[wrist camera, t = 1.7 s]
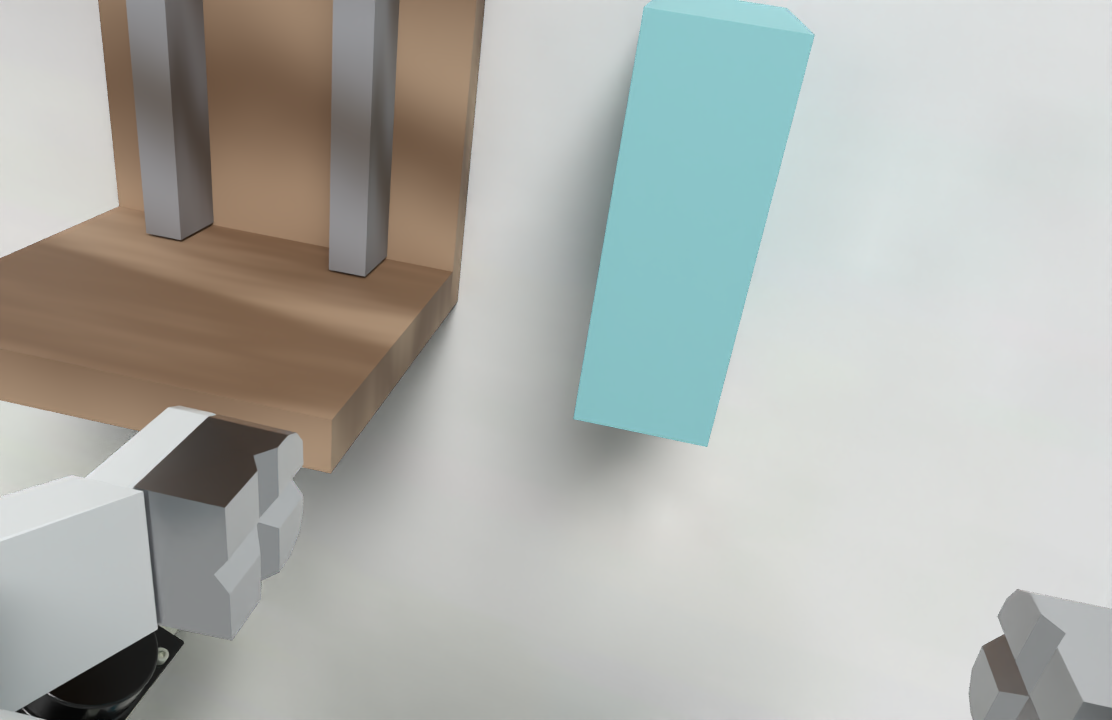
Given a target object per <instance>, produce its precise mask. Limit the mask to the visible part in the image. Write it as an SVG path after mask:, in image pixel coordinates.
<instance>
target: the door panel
mask: <svg viewBox="0 0 1112 720" xmlns="http://www.w3.org/2000/svg"><path fill="white" fill-rule="evenodd" d="M813 39H814V34H813V33H812V32H811V31H810V30H809V29H808V28H807V27H806V26H805V25H804V24H803V23H802V22H801V21H800V20H799V19H798V18H796V17H795V16H794V15H793V14H792V13H791V12H790V11H789V10H788V9H787V8H783V7H777V6H770V5H764V4H758V3H752V2H745V1H739V0H652V1H650V2H649V3H648V4H647V5H646V6H645V7H644V10H643V15H642V21H641V27H640V33H639V39H638V45H637V50H636V56H635V62H634V68H633V74H632V80H631V85H630V91H629V97H628V103H627V109H626V115H625V120H624V126H623V132H622V138H621V144H620V150H619V155H618V161H617V167H616V173H615V179H614V185H613V190H612V196H611V202H610V208H609V214H608V220H607V225H606V231H605V237H604V243H603V249H602V255H601V260H600V266H599V272H598V278H597V284H596V290H595V295H594V301H593V307H592V313H591V319H590V324H589V330H588V336H587V342H586V348H585V354H584V359H583V365H582V371H581V377H580V383H579V389H578V394H577V400H576V406H575V412H574V418H573V419H576V420H580V421H585V422H590V423H595V424H600V425H604V426H609V427H614V428H619V429H624V430H628V431H633V432H638V433H643V434H648V435H652V436H657V437H662V438H667V439H672V440H676V441H681V442H686V443H691V444H696V445H700V446H705V447H707V446H708V442H709V438H710V434H711V430H712V426H713V423H714V419H715V415H716V411H717V407H718V403H719V400H720V396H721V392H722V388H723V384H724V380H725V377H726V373H727V369H728V365H729V361H730V357H731V354H732V350H733V346H734V342H735V338H736V334H737V331H738V327H739V323H740V319H741V315H742V311H743V308H744V304H745V300H746V296H747V292H748V288H749V285H750V281H751V277H752V273H753V269H754V265H755V262H756V258H757V254H758V250H759V246H760V242H761V239H762V235H763V231H764V227H765V223H766V219H767V215H768V212H769V208H770V204H771V200H772V196H773V192H774V189H775V185H776V181H777V177H778V173H779V169H780V166H781V162H782V158H783V154H784V150H785V146H786V143H787V139H788V135H789V131H790V127H791V123H792V120H793V116H794V112H795V108H796V104H797V100H798V97H799V93H800V89H801V85H802V81H803V77H804V74H805V70H806V66H807V62H808V58H809V54H810V51H811V47H812V43H813Z"/></svg>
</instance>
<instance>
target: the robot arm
mask: <svg viewBox="0 0 1112 720" xmlns="http://www.w3.org/2000/svg"><path fill="white" fill-rule="evenodd" d="M302 466H303V440H302V439H301V438H300V437H299V435H298V434H297V433H296V432H291V431H287V430H283V429H279V428H275V427H270V426H266V425H262V424H258V423H254V422H249V421H245V420H241V419H237V418H233V417H229V416H224V415H220V414H218V415H216V414H214V413H211V412H207V411H202V410H197V409H193V408H188V407H183V406H174V407H168V408H167V409H165V410H164V411H163V412H162V413H161V414H159V415H158V416H157V417H156V418H155V419H154V420H152V421H151V422H150V423H149V424H148V425H146V426H145V427H144V428H143V429H142V430H141V431H139V432H138V433H137V434H136V435H135V436H133V437H132V438H131V439H130V440H129V441H127V442H126V443H125V444H124V445H123V446H122V447H120V448H119V449H118V450H117V451H116V452H114V453H113V454H112V455H111V456H110V457H109V458H107V459H106V460H105V461H104V462H103V463H101V464H100V465H99V466H98V467H97V468H96V469H94V470H93V471H92V472H91V473H90V474H88V475H87V476H86V477H85V478H83V477H78V476H73V475H70V476H67V477H63V478H60V479H57V480H53V481H50V482H47V483H43V484H40V485H37V486H33V487H30V488H27V489H23V490H20V491H17V492H13V493H10V494H7V495H3V496H0V720H45V719H41V718H37V717H33V716H29V715H25V714H21V713H17V712H15V711H17V710H19V709H21V708H22V707H24V706H26V705H28V704H29V703H31V702H33V701H34V700H36V699H38V698H40V697H41V696H43V695H45V694H47V693H48V692H50V691H52V690H53V689H55V688H57V687H59V686H60V685H62V684H64V683H66V682H67V681H69V680H71V679H72V678H74V677H76V676H78V675H79V674H81V673H83V672H85V671H86V670H88V669H90V668H92V667H93V666H95V665H97V664H98V663H100V662H102V661H104V660H105V659H107V658H109V657H111V656H112V655H114V654H116V653H117V652H119V651H121V650H123V649H124V648H126V647H128V646H130V645H131V644H133V643H135V642H136V641H138V640H140V639H142V638H143V637H145V636H147V635H149V634H150V633H152V632H154V631H156V630H157V629H158V625H160V626H165V627H170V628H175V629H179V630H184V631H189V632H194V633H199V634H203V635H208V636H213V637H218V638H223V639H227V640H233V638H234V637H235V636H236V634H237V633H238V631H239V630H240V628H241V627H242V626H243V624H244V623H245V621H246V620H247V618H248V617H249V615H250V614H251V613H252V611H253V610H254V608H255V607H256V605H257V604H258V603H259V601H260V600H261V580H263V579H266V578H268V577H270V576H272V575H274V574H276V573H279V572H280V571H281V569H282V568H283V566H284V565H285V563H286V562H287V560H288V559H289V557H290V555H291V553H292V551H293V548H294V546H295V543H296V541H297V538H298V535H299V533H300V528H301V523H302V517H303V496H304V495H303V494H302V492H301V491H300V489H299V488H298V486H297V485H296V484H295V482H294V481H293V477H294V476H295V475H296V473H297V472H298V471H299V470H300V468H301V467H302ZM998 619H999V622H1000V624H1001V627H1002V629H1003V632H1004V635H1002V636H1000V637H998V638H996V639H994V640H993V641H991V642H989V643H987V644H985V645H983V646H982V648H981V650H980V652H979V654H978V657H977V659H976V661H975V663H974V665H973V668H972V672H971V680H970V687H969V702H970V711H971V716H972V719H973V720H1112V609H1111V608H1106V607H1101V606H1096V605H1092V604H1087V603H1082V602H1077V601H1072V600H1067V599H1063V598H1058V597H1053V596H1048V595H1043V594H1038V593H1034V592H1029V591H1024V590H1019V589H1017V590H1016V591H1015V592H1014V593H1012V594H1011V595H1010V596H1009V597H1008V598H1007V599H1006V601H1005V603H1004V605H1003V607H1002V608H1001V610H1000V612H999V614H998Z"/></svg>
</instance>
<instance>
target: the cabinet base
mask: <svg viewBox="0 0 1112 720" xmlns="http://www.w3.org/2000/svg"><path fill="white" fill-rule="evenodd" d="M98 2H99V12H100V22H101V32H102V42H103V52H104V62H105V71H106V81H107V91H108V101H109V111H110V121H111V130H112V140H113V150H114V160H115V170H116V180H117V190H118V199H119V207H117V208H114V209H112V210H110V211H107V212H105V213H103V214H101V215H98V216H96V217H94V218H91V219H89V220H87V221H85V222H82V223H80V224H78V225H75V226H73V227H71V228H68V229H66V230H64V231H62V232H59V233H57V234H55V235H52V236H50V237H48V238H46V239H43V240H41V241H39V242H36V243H34V244H32V245H30V246H27V247H25V248H23V249H20V250H18V251H16V252H14V253H11V254H9V255H7V256H4V257H2V258H0V400H2V401H7V402H11V403H16V404H20V405H25V406H29V407H34V408H38V409H43V410H47V411H52V412H56V413H61V414H65V415H70V416H74V417H79V418H83V419H88V420H92V421H97V422H101V423H106V424H110V425H115V426H119V427H124V428H128V429H133V430H137V431H141V430H142V429H143V428H144V427H145V426H146V425H148V424H149V423H150V422H151V421H152V420H154V419H155V418H156V417H157V416H158V415H159V414H161V413H162V412H163V411H164V410H165V409H167V408H168V407H174V406H183V407H188V408H193V409H197V410H202V411H207V412H211V413H214V414H216V415H218V414H220V415H224V416H229V417H233V418H237V419H241V420H245V421H249V422H254V423H258V424H262V425H266V426H270V427H275V428H279V429H283V430H287V431H291V432H296V433H297V434H298V435H299V437H300V438H301V439H302V440H303V466H302V467H304V468H309V469H313V470H318V471H322V472H327V473H331V472H332V471H333V470H334V468H335V467H336V466H337V464H338V463H339V462H340V460H341V459H342V457H343V456H344V455H345V453H346V452H347V451H348V449H349V448H350V447H351V445H352V444H353V443H354V441H355V440H356V438H357V437H358V436H359V434H360V433H361V432H362V430H363V429H364V428H365V426H366V425H367V424H368V422H369V421H370V419H371V418H372V417H373V415H374V414H375V413H376V411H377V410H378V409H379V407H380V406H381V405H382V403H383V402H384V400H385V399H386V398H387V396H388V395H389V394H390V392H391V391H392V390H393V388H394V387H395V386H396V384H397V383H398V381H399V380H400V379H401V377H402V376H403V375H404V373H405V372H406V371H407V369H408V368H409V367H410V365H411V364H412V362H413V361H414V360H415V358H416V357H417V356H418V354H419V353H420V352H421V350H422V349H423V348H424V346H425V345H426V343H427V342H428V341H429V339H430V338H431V337H432V335H433V334H434V333H435V331H436V330H437V329H438V327H439V326H440V324H441V323H442V322H443V320H444V319H445V318H446V316H447V315H448V314H449V312H450V311H451V309H452V308H453V307H454V305H455V304H456V303H457V300H458V289H459V278H460V267H461V256H462V245H463V234H464V223H465V212H466V201H467V190H468V180H469V169H470V158H471V147H472V136H473V125H474V114H475V103H476V92H477V81H478V70H479V59H480V48H481V38H482V27H483V16H484V5H485V0H98Z"/></svg>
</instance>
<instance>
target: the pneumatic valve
mask: <svg viewBox="0 0 1112 720" xmlns="http://www.w3.org/2000/svg"><path fill="white" fill-rule="evenodd" d="M177 631H178V629H175V628H170V627H165V626H160V625H158V629H157V630H156V631H154V632H152V633H150V634H149V635H147V636H145V637H143V638H142V639H140V640H138V641H136V642H135V643H133V644H131V645H130V646H128V647H126V648H124V649H123V650H121V651H119V652H117V653H116V654H114V655H112V656H111V657H109V658H107V659H105V660H104V661H102V662H100V663H98V664H97V665H95V666H93V667H92V668H90V669H88V670H86V671H85V672H83V673H81V674H79V675H78V676H76V677H74V678H72V679H71V680H69V681H67V682H66V683H64V684H62V685H60V686H59V687H57V688H55V689H53V690H52V691H50V692H48V693H47V694H45V695H43V696H41V697H40V698H38V699H36V700H34V701H33V702H31V703H29V704H28V705H26V706H24V707H22V708H21V709H19V710H17V711H15V712H17V713H21V714H25V715H29V716H33V717H37V718H41V719H45V720H126V719H127V718H128V717H129V715H130V714H131V713H132V711H133V710H134V709H135V708H136V706H137V705H138V704H139V702H140V701H141V700H142V698H143V697H144V696H145V694H146V693H147V692H148V690H149V689H150V688H151V686H152V685H153V684H154V682H155V681H156V680H157V678H158V677H159V676H160V674H161V673H162V672H163V670H164V669H165V668H166V666H167V665H168V664H169V663H170V661H171V660H172V659H173V657H174V656H175V655H176V653H177V652H178V651H179V649H180V648H181V647H182V645H183V644H184V642H183V641H182V640H181V639H179V638H178V637H176V636H175V633H176V632H177Z"/></svg>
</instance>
